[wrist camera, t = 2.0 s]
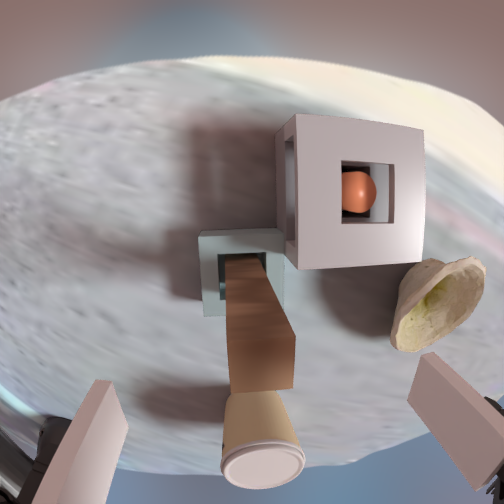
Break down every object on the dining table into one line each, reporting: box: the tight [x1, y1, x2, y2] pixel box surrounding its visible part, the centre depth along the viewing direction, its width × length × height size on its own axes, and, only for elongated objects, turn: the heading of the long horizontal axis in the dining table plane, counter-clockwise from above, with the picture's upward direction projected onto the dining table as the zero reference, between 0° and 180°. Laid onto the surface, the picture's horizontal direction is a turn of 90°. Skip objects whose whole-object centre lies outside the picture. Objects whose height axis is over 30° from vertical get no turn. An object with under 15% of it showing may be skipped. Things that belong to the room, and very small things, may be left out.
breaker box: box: [275, 114, 425, 270], centre depth 26 cm, size 12×12×10 cm
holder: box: [198, 228, 284, 317], centre depth 30 cm, size 8×8×4 cm
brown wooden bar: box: [225, 253, 296, 393], centre depth 22 cm, size 3×3×18 cm
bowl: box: [390, 256, 486, 352], centre depth 30 cm, size 15×14×10 cm
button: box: [341, 171, 377, 213], centre depth 26 cm, size 4×4×5 cm
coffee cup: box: [220, 390, 305, 489], centre depth 31 cm, size 9×9×12 cm
